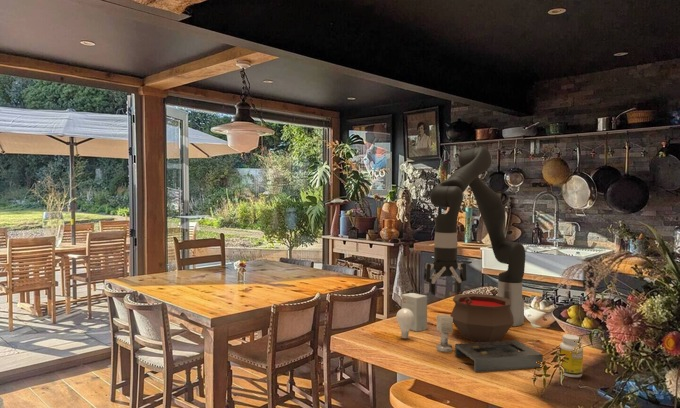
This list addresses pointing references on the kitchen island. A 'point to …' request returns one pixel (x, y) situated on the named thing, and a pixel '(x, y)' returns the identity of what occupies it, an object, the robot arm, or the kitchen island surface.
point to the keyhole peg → (444, 332)
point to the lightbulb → (405, 321)
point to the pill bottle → (571, 356)
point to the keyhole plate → (499, 355)
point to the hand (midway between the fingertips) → (444, 294)
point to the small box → (416, 310)
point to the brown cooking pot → (482, 316)
